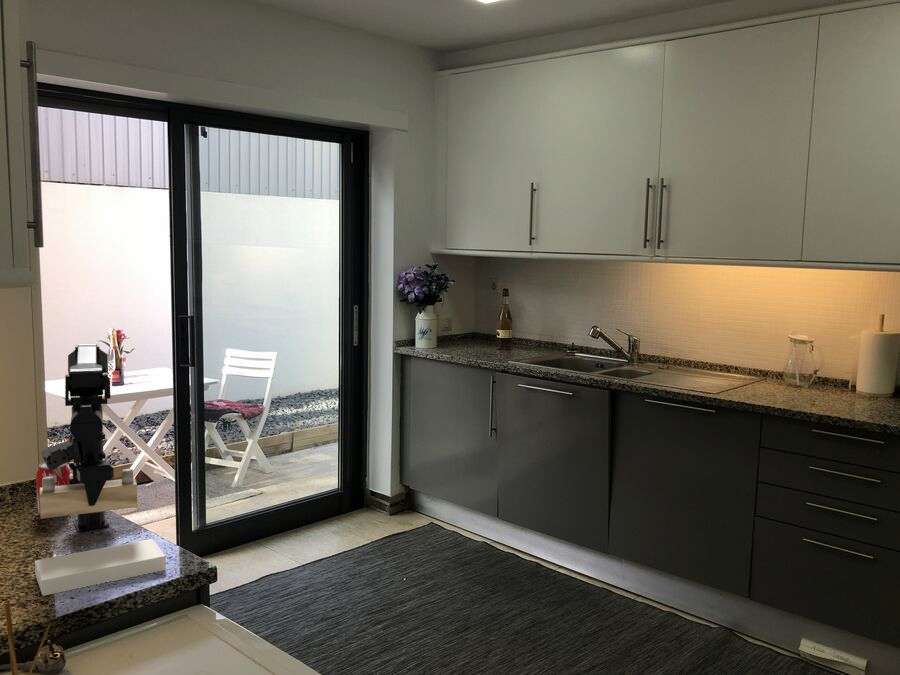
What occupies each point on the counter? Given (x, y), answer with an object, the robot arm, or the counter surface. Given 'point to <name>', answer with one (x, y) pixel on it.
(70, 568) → the shelf board
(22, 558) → the counter surface
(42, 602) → the counter surface
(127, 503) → the wooden board with pegs
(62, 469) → the soda can
